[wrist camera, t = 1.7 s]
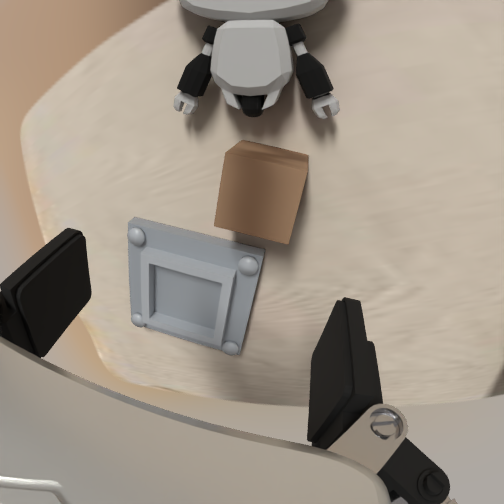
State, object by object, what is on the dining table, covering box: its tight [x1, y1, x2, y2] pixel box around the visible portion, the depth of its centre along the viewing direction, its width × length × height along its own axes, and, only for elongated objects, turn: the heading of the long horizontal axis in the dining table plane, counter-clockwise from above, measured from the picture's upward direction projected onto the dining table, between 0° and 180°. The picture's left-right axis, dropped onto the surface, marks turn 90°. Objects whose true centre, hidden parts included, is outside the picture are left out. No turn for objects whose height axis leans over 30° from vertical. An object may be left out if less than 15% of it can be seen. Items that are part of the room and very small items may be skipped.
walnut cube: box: [214, 140, 308, 244], centre depth 22 cm, size 5×5×5 cm
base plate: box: [127, 217, 265, 355], centre depth 29 cm, size 12×12×2 cm
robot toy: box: [174, 0, 340, 119], centre depth 17 cm, size 12×4×15 cm
